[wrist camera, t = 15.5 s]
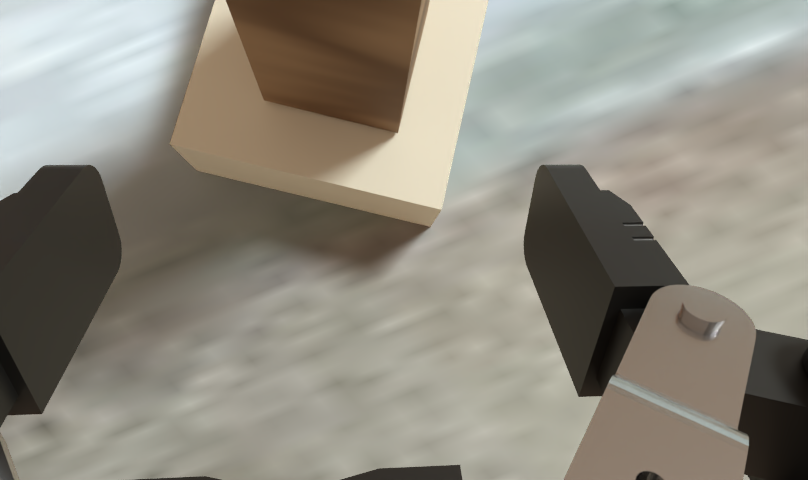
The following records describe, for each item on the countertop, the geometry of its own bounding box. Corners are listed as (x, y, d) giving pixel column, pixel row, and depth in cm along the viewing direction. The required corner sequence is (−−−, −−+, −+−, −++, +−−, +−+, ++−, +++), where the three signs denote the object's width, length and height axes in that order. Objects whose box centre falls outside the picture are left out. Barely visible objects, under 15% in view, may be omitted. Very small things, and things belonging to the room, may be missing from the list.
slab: (476, 20, 24) (495, -33, 20) (429, 228, 22) (441, 209, 19) (263, -34, 23) (245, -97, 20) (200, 173, 22) (169, 144, 18)
